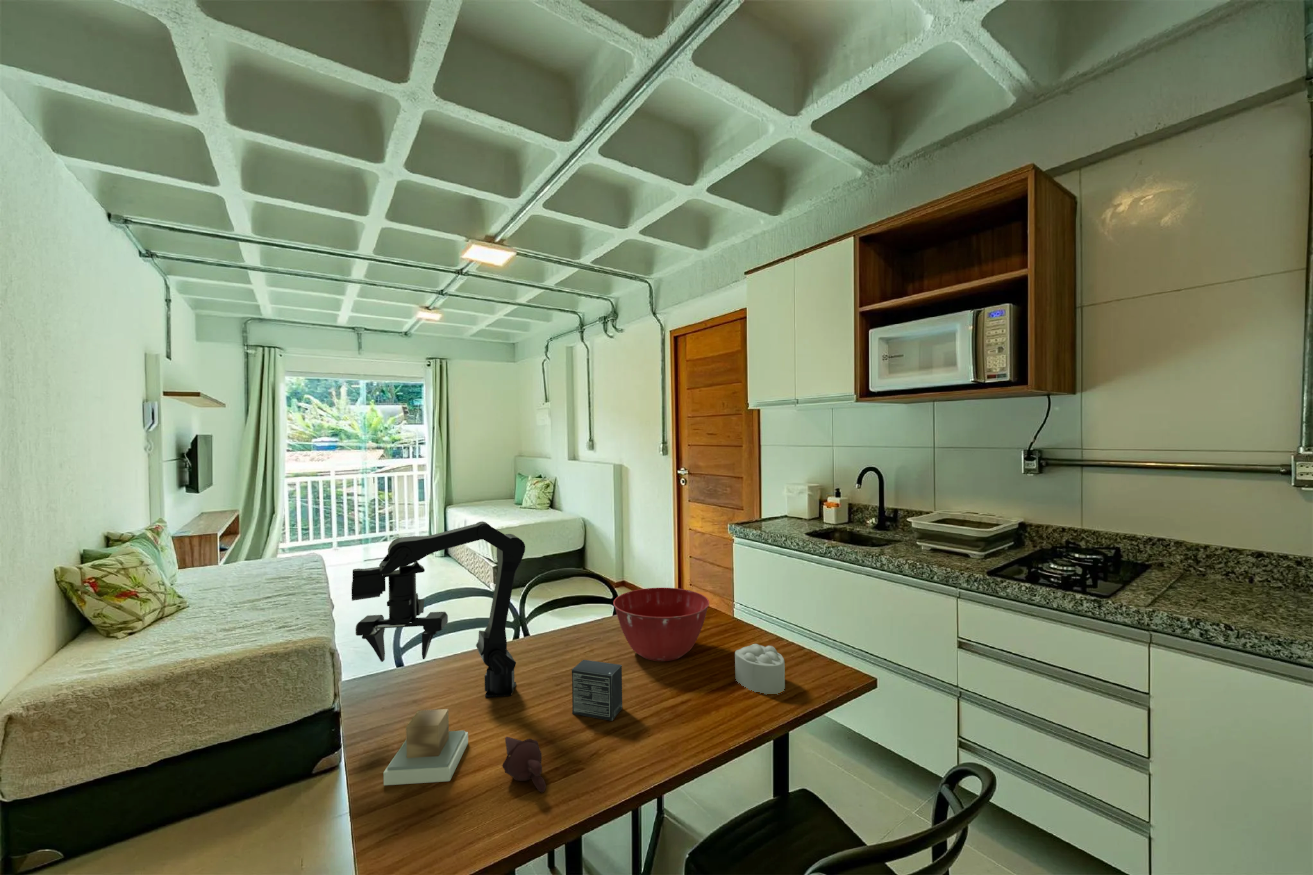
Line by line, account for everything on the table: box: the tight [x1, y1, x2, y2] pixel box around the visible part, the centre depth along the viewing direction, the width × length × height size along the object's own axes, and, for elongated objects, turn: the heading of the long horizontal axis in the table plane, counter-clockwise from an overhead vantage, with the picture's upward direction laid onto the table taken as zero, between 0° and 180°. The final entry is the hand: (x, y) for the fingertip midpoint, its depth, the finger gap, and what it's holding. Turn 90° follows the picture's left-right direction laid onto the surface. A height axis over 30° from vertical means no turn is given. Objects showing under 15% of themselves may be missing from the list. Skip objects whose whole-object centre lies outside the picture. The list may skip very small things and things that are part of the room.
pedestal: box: [383, 729, 469, 786], centre depth 102 cm, size 12×12×3 cm
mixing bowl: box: [612, 587, 710, 662], centre depth 153 cm, size 28×28×16 cm
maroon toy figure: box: [501, 736, 547, 793], centre depth 98 cm, size 7×7×15 cm
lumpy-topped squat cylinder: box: [734, 643, 786, 695], centre depth 133 cm, size 10×13×9 cm
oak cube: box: [405, 708, 450, 758], centre depth 102 cm, size 6×6×6 cm
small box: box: [571, 659, 623, 722], centre depth 121 cm, size 11×6×10 cm, turn 71°
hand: (403, 659), depth 120 cm, fingers open, 9 cm apart
